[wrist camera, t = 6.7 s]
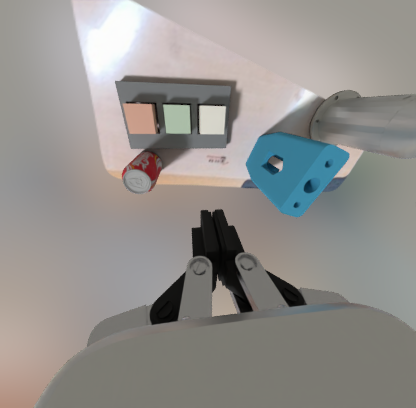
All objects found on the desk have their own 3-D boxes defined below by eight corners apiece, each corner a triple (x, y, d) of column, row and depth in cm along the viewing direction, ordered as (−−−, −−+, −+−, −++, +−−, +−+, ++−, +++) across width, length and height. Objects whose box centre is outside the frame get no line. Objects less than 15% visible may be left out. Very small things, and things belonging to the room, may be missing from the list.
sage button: (189, 105, 32) (189, 105, 29) (190, 131, 35) (190, 133, 32) (164, 104, 31) (163, 104, 29) (167, 131, 34) (166, 133, 31)
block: (264, 127, 37) (328, 142, 21) (280, 134, 39) (352, 154, 22) (241, 171, 43) (278, 211, 26) (256, 176, 44) (299, 218, 28)
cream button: (222, 106, 32) (225, 106, 30) (221, 132, 35) (223, 134, 32) (199, 105, 31) (200, 105, 29) (199, 132, 34) (200, 134, 32)
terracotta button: (154, 104, 30) (151, 104, 28) (157, 132, 33) (155, 133, 31) (127, 103, 30) (122, 103, 27) (133, 131, 32) (129, 133, 30)
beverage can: (162, 152, 38) (154, 168, 27) (162, 176, 41) (154, 198, 31) (135, 148, 36) (116, 164, 26) (137, 173, 40) (121, 195, 29)
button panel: (228, 87, 32) (230, 86, 31) (224, 146, 39) (225, 148, 37) (118, 82, 30) (114, 81, 28) (133, 146, 36) (131, 148, 34)
